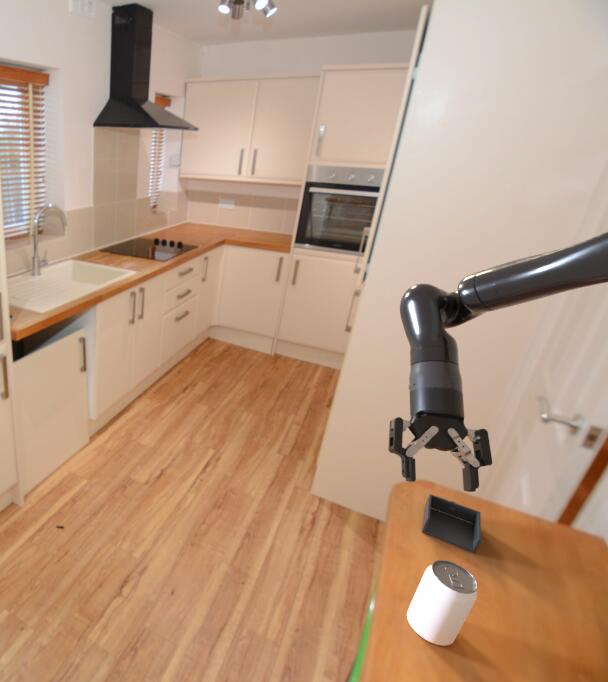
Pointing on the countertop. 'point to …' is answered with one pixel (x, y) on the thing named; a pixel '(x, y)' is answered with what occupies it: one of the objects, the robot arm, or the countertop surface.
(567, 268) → the robot arm
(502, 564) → the countertop surface
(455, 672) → the countertop surface
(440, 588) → the can
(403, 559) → the countertop surface
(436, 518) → the tray
